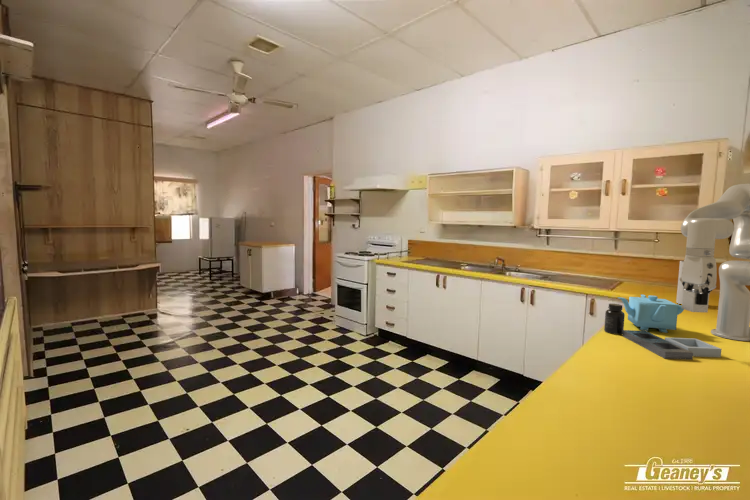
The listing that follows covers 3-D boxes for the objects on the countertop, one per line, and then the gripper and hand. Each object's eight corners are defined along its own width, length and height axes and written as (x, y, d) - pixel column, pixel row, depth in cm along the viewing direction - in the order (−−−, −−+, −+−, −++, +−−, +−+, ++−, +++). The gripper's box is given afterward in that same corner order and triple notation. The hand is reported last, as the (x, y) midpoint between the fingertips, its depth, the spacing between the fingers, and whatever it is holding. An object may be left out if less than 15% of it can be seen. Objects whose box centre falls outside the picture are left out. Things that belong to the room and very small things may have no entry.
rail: (622, 336, 146) (622, 330, 146) (644, 336, 145) (645, 330, 145) (664, 358, 122) (665, 351, 122) (692, 359, 122) (693, 352, 121)
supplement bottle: (626, 335, 147) (628, 307, 146) (608, 334, 148) (610, 306, 147) (618, 330, 154) (620, 303, 153) (601, 329, 155) (603, 302, 154)
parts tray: (695, 346, 135) (695, 338, 135) (720, 357, 124) (721, 349, 124) (664, 345, 136) (665, 337, 136) (687, 355, 125) (688, 347, 125)
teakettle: (685, 331, 153) (688, 298, 152) (662, 337, 145) (665, 302, 144) (637, 320, 170) (639, 290, 169) (614, 325, 162) (616, 293, 160)
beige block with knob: (696, 308, 131) (697, 288, 131) (707, 312, 126) (709, 290, 126) (681, 308, 132) (683, 287, 131) (692, 312, 127) (694, 290, 126)
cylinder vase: (671, 303, 206) (675, 261, 204) (682, 301, 211) (686, 260, 209) (699, 308, 195) (703, 263, 193) (709, 306, 200) (713, 262, 198)
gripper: (732, 255, 118) (727, 309, 120) (691, 251, 135) (687, 297, 137) (708, 255, 119) (703, 308, 121) (670, 250, 136) (666, 297, 138)
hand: (695, 302), depth 129 cm, fingers closed on beige block with knob, 5 cm apart
